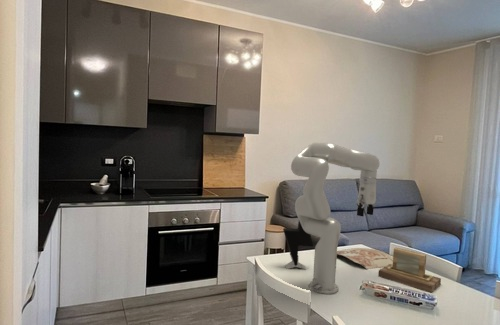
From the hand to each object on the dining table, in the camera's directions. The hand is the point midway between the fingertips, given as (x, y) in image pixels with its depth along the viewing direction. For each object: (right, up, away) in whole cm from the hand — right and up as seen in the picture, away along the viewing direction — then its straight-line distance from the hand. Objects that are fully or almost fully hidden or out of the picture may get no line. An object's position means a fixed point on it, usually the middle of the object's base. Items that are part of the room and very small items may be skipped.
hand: (365, 215), depth 165 cm
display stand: (+20, -31, -4) cm, 37 cm away
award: (-33, -28, +6) cm, 44 cm away
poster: (+8, -30, +24) cm, 39 cm away
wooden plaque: (+19, -28, -4) cm, 34 cm away
